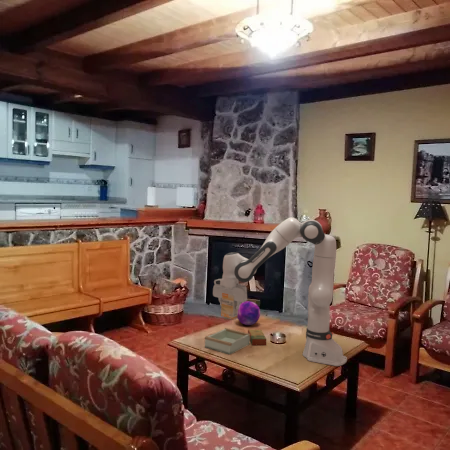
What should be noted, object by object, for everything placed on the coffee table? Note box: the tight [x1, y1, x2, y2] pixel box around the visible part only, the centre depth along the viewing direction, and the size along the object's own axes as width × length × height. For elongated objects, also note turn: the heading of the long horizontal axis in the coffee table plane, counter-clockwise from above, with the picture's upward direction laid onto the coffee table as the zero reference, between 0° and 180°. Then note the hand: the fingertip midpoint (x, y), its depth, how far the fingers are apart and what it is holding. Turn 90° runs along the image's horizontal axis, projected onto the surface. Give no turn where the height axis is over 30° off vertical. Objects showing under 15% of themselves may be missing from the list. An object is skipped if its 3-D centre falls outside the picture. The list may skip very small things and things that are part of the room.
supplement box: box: [220, 293, 238, 320], centre depth 239 cm, size 8×5×13 cm, turn 53°
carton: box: [247, 329, 267, 347], centre depth 251 cm, size 8×16×4 cm, turn 5°
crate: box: [204, 327, 251, 356], centre depth 241 cm, size 16×20×6 cm
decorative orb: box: [237, 300, 261, 326], centre depth 280 cm, size 15×15×15 cm
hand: (229, 307), depth 239 cm, fingers closed on supplement box, 8 cm apart
